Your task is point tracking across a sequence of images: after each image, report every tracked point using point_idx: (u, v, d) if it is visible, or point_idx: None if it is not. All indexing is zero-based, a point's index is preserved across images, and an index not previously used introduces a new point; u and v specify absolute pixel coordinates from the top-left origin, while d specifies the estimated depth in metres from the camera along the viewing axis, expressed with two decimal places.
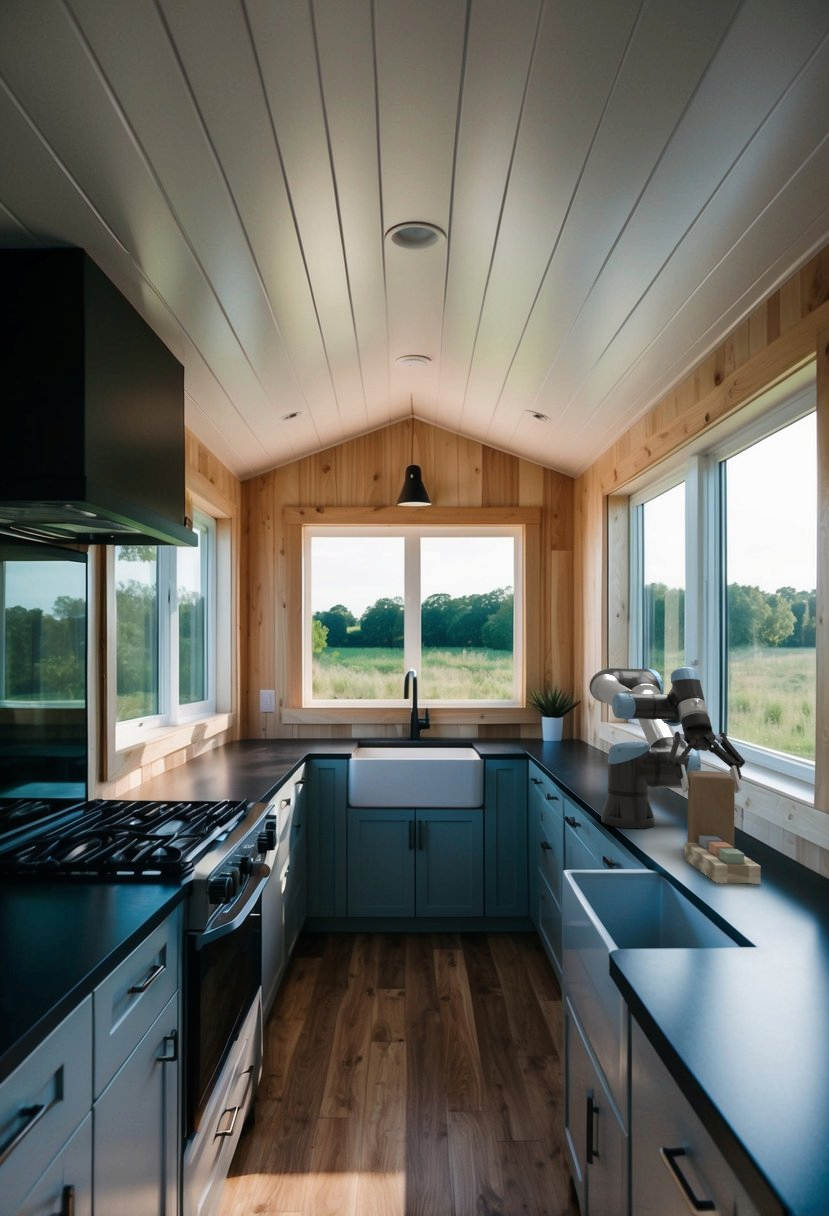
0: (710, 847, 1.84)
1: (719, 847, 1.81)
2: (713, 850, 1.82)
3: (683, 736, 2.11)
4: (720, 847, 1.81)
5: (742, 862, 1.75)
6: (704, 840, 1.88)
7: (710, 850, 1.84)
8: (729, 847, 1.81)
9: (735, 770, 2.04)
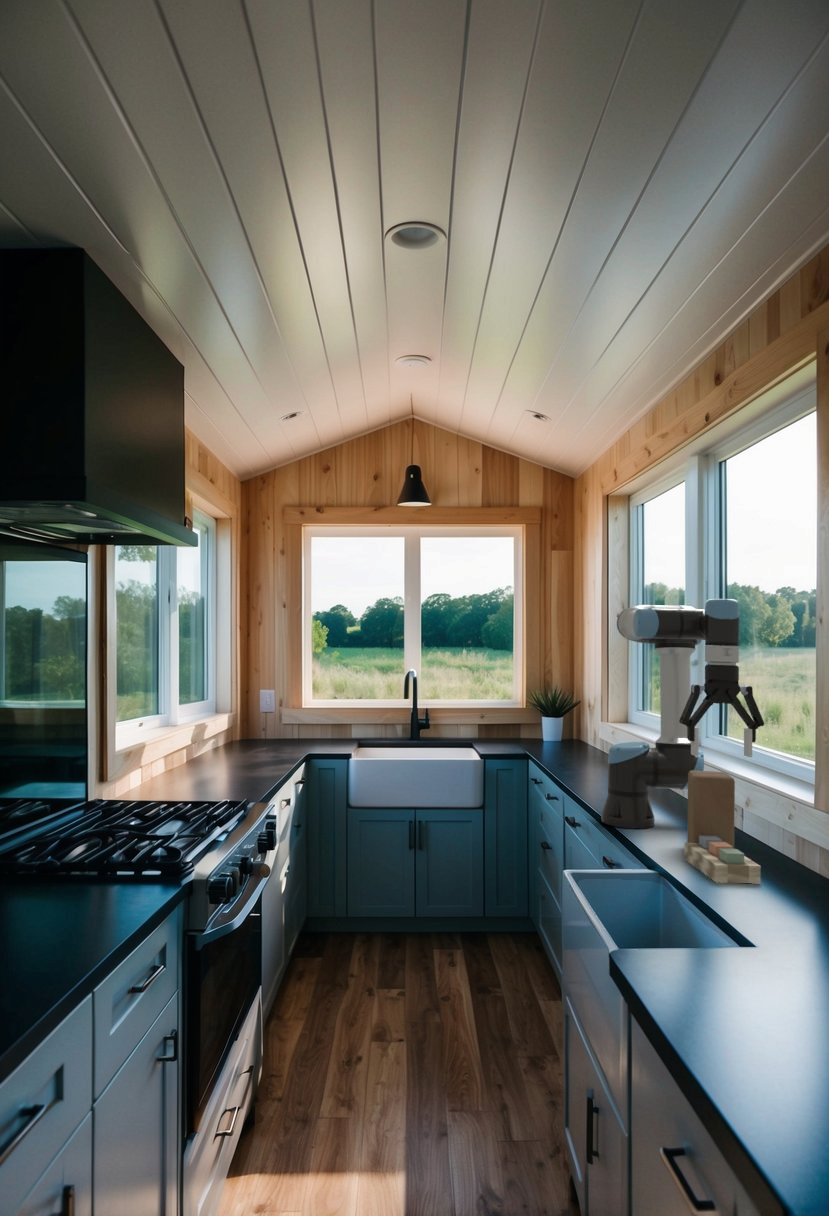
0: (710, 847, 1.84)
1: (719, 847, 1.81)
2: (713, 850, 1.82)
3: (703, 689, 1.84)
4: (720, 847, 1.81)
5: (742, 862, 1.75)
6: (704, 840, 1.88)
7: (710, 850, 1.84)
8: (729, 847, 1.81)
9: (750, 735, 1.83)
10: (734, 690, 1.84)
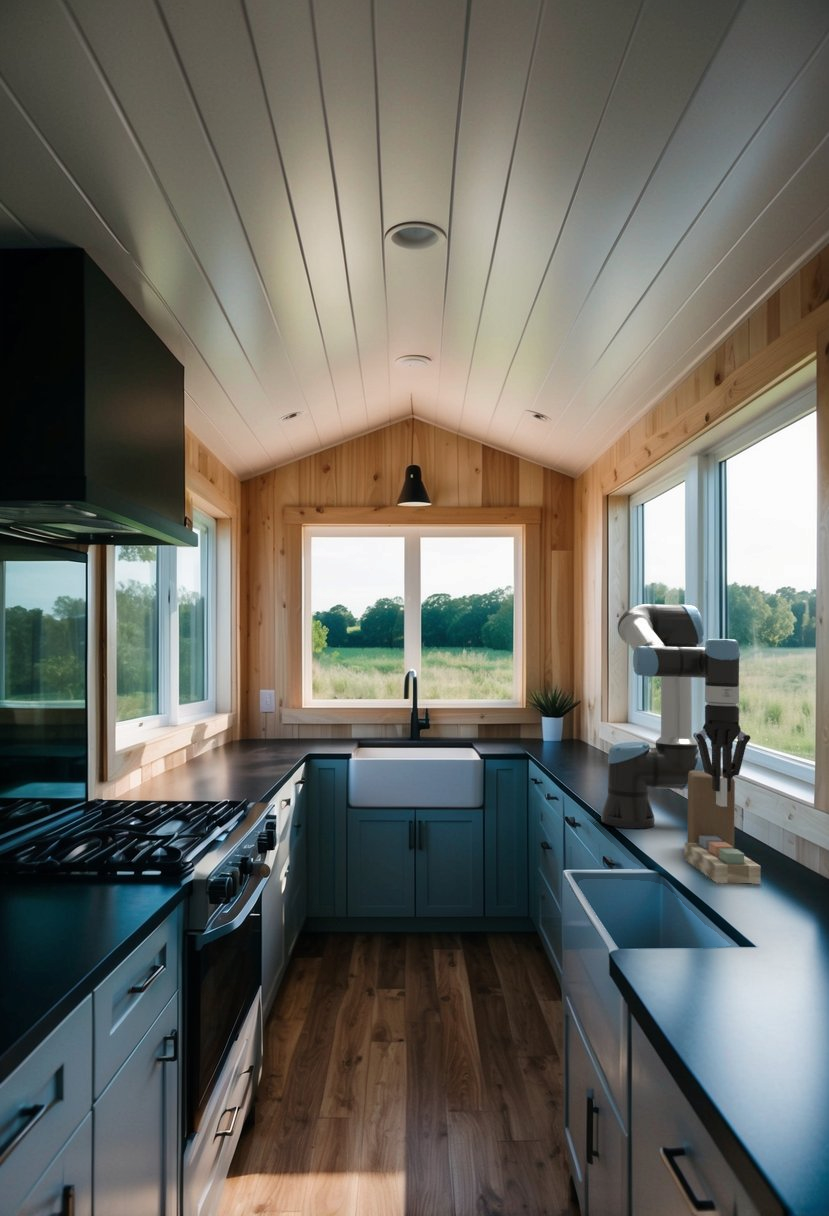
0: (710, 847, 1.84)
1: (719, 847, 1.81)
2: (713, 850, 1.82)
3: (705, 733, 1.83)
4: (720, 847, 1.81)
5: (742, 862, 1.75)
6: (704, 840, 1.88)
7: (710, 850, 1.84)
8: (729, 847, 1.81)
9: (725, 784, 1.82)
10: (734, 729, 1.83)
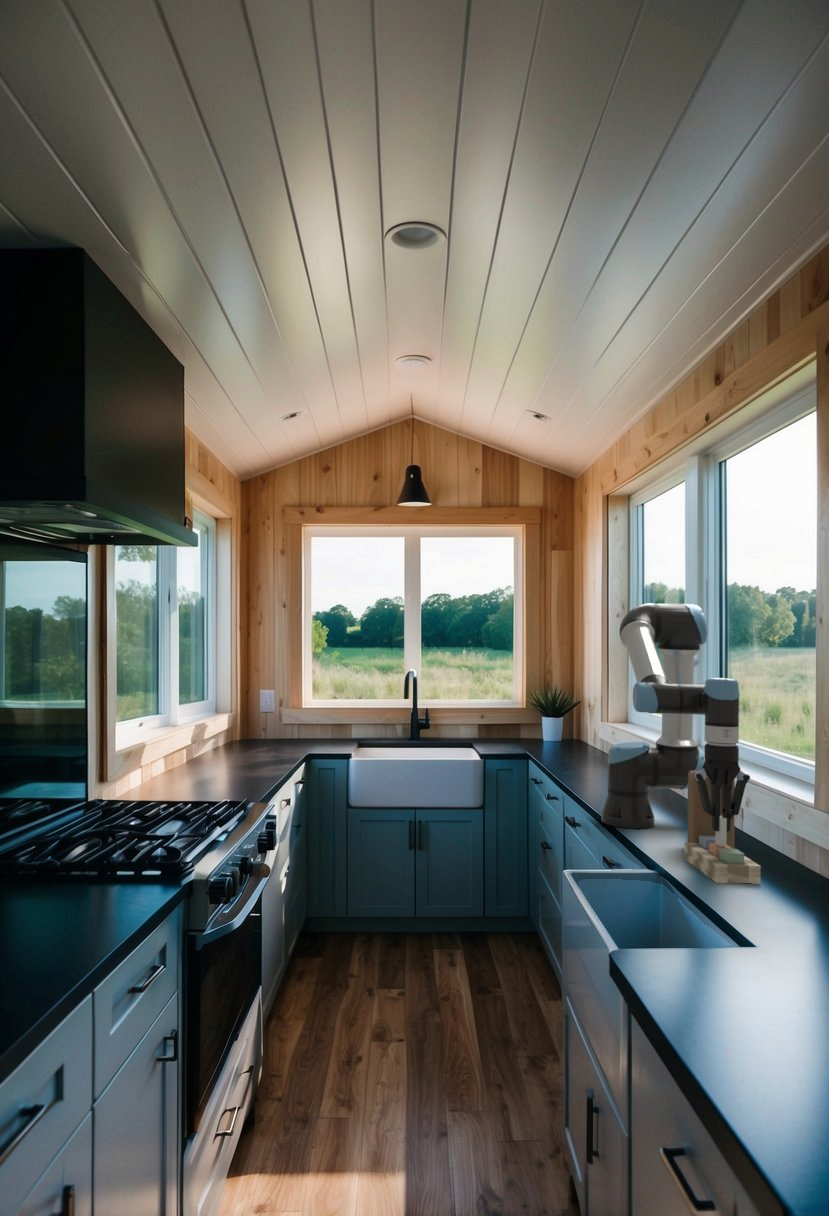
0: (710, 849, 1.84)
1: None
2: (713, 851, 1.82)
3: (704, 772, 1.83)
4: None
5: (742, 862, 1.75)
6: (704, 840, 1.88)
7: (710, 852, 1.84)
8: None
9: (724, 824, 1.82)
10: (733, 769, 1.83)
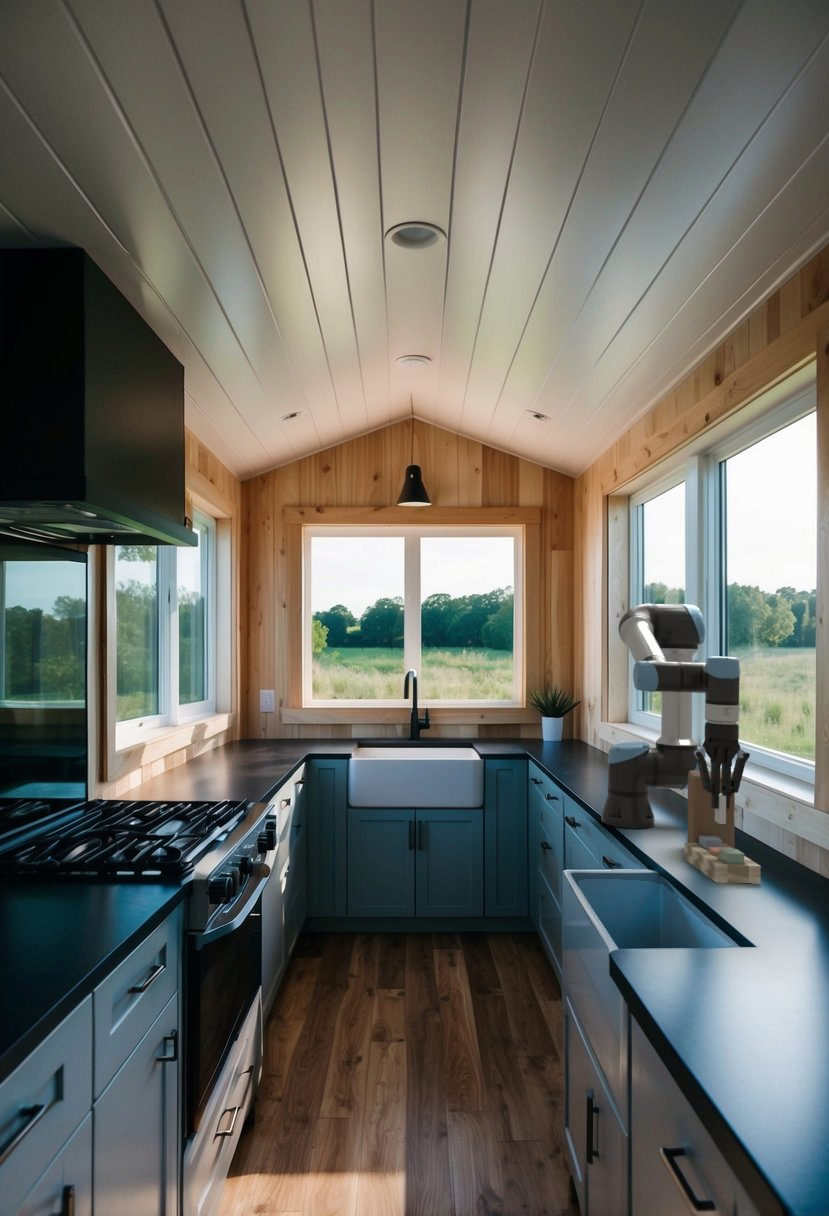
0: (710, 852, 1.84)
1: None
2: (713, 855, 1.82)
3: (704, 750, 1.83)
4: None
5: (742, 862, 1.75)
6: (704, 840, 1.88)
7: None
8: None
9: (724, 802, 1.82)
10: (733, 747, 1.83)
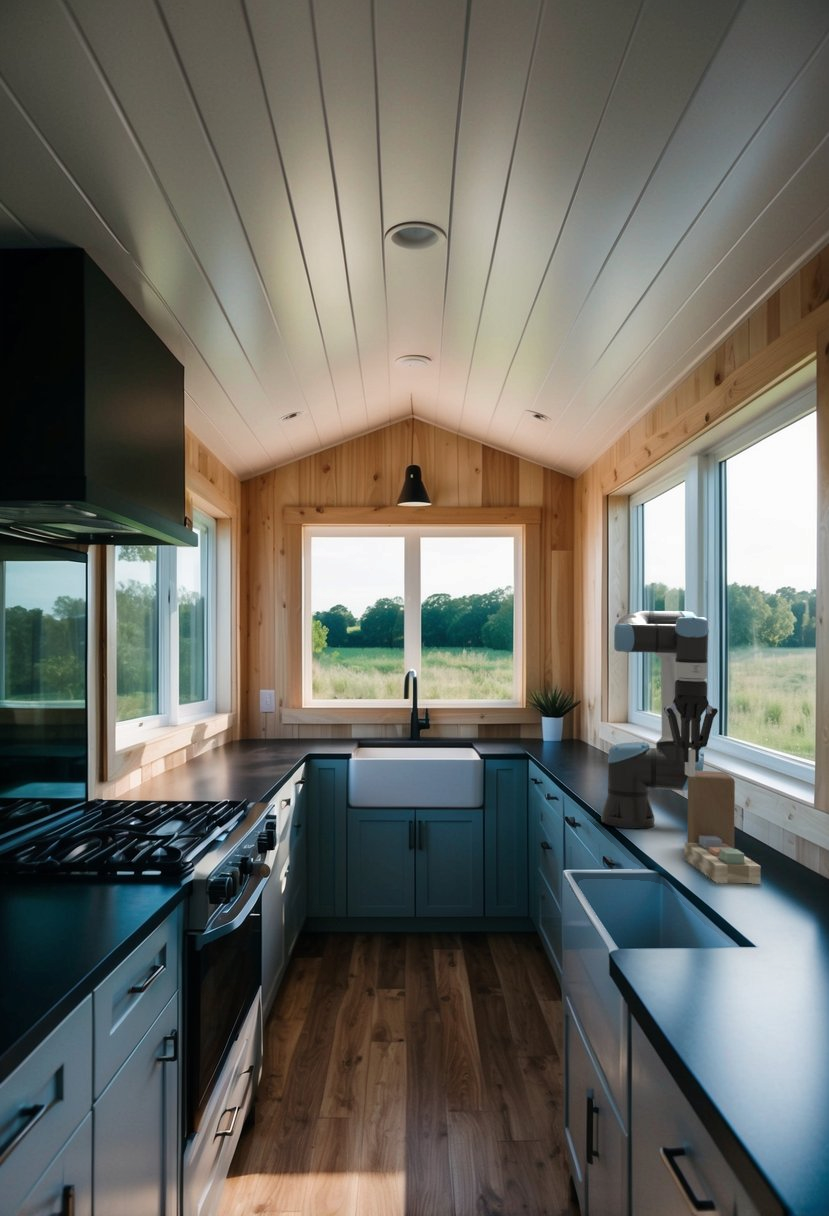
0: (710, 852, 1.84)
1: None
2: (713, 855, 1.82)
3: (675, 707, 1.92)
4: None
5: (742, 862, 1.75)
6: (704, 840, 1.88)
7: None
8: None
9: (693, 755, 1.91)
10: (702, 703, 1.91)
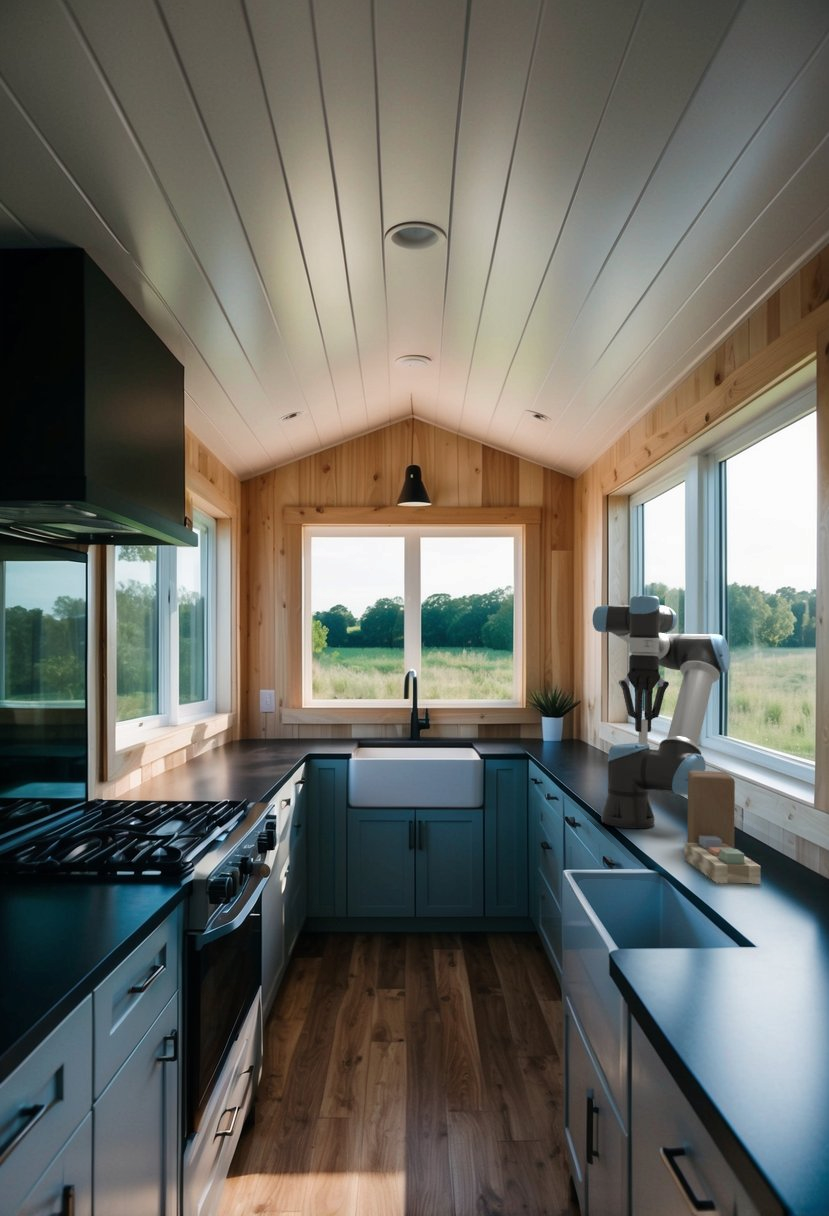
0: (710, 852, 1.84)
1: None
2: (713, 855, 1.82)
3: (628, 680, 2.05)
4: None
5: (742, 862, 1.75)
6: (704, 840, 1.88)
7: None
8: None
9: (646, 725, 2.03)
10: (654, 676, 2.04)
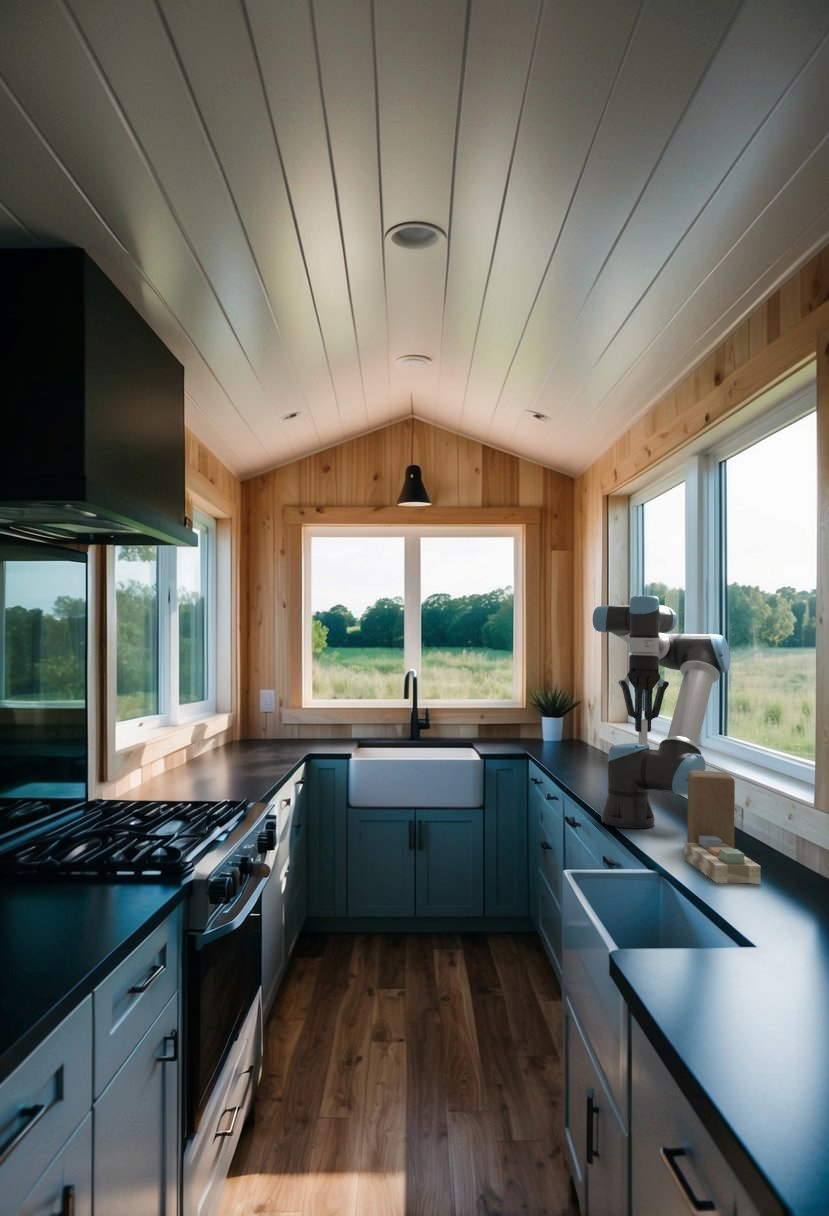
0: (710, 852, 1.84)
1: None
2: (713, 855, 1.82)
3: (628, 680, 2.05)
4: None
5: (742, 862, 1.75)
6: (704, 840, 1.88)
7: None
8: None
9: (646, 725, 2.03)
10: (654, 676, 2.04)
